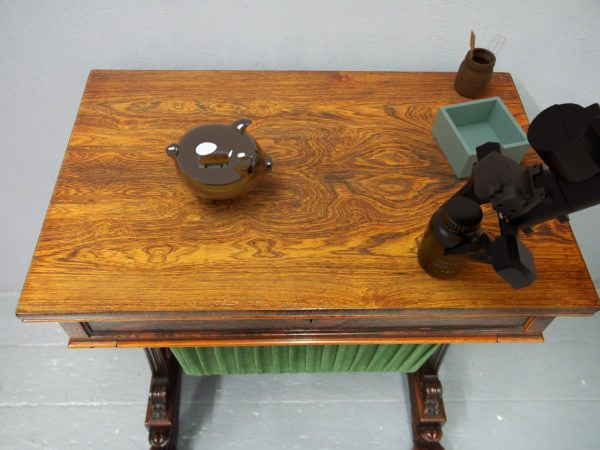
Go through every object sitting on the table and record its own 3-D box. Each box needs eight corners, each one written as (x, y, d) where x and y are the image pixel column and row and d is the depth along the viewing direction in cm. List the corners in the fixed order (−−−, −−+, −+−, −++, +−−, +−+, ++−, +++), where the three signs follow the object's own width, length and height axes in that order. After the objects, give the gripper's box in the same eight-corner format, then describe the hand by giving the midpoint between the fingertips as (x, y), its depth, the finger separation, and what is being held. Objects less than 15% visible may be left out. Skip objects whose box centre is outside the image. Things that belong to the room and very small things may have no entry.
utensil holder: (489, 97, 91) (515, 40, 81) (457, 100, 90) (479, 43, 80) (478, 76, 94) (502, 19, 84) (447, 78, 93) (467, 21, 83)
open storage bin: (487, 120, 87) (498, 96, 83) (518, 166, 82) (532, 142, 77) (430, 131, 86) (439, 106, 81) (458, 178, 80) (469, 155, 75)
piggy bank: (274, 215, 75) (273, 164, 65) (173, 218, 74) (157, 167, 64) (272, 158, 81) (271, 105, 71) (178, 161, 80) (165, 107, 70)
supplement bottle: (412, 238, 73) (432, 187, 63) (458, 238, 73) (485, 188, 63) (419, 280, 69) (441, 233, 59) (468, 280, 69) (498, 233, 59)
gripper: (521, 89, 57) (405, 147, 66) (552, 224, 46) (409, 270, 56) (559, 143, 63) (448, 189, 73) (594, 272, 53) (459, 306, 62)
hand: (441, 233), depth 66 cm, fingers closed on supplement bottle, 7 cm apart
